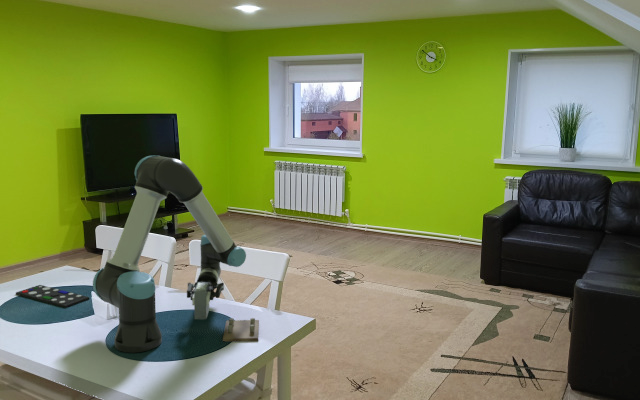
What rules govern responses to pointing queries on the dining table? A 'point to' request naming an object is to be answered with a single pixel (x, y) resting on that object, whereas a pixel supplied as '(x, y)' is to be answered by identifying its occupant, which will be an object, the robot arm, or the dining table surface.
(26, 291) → the remote control
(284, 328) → the dining table surface
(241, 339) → the pin tray
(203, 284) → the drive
